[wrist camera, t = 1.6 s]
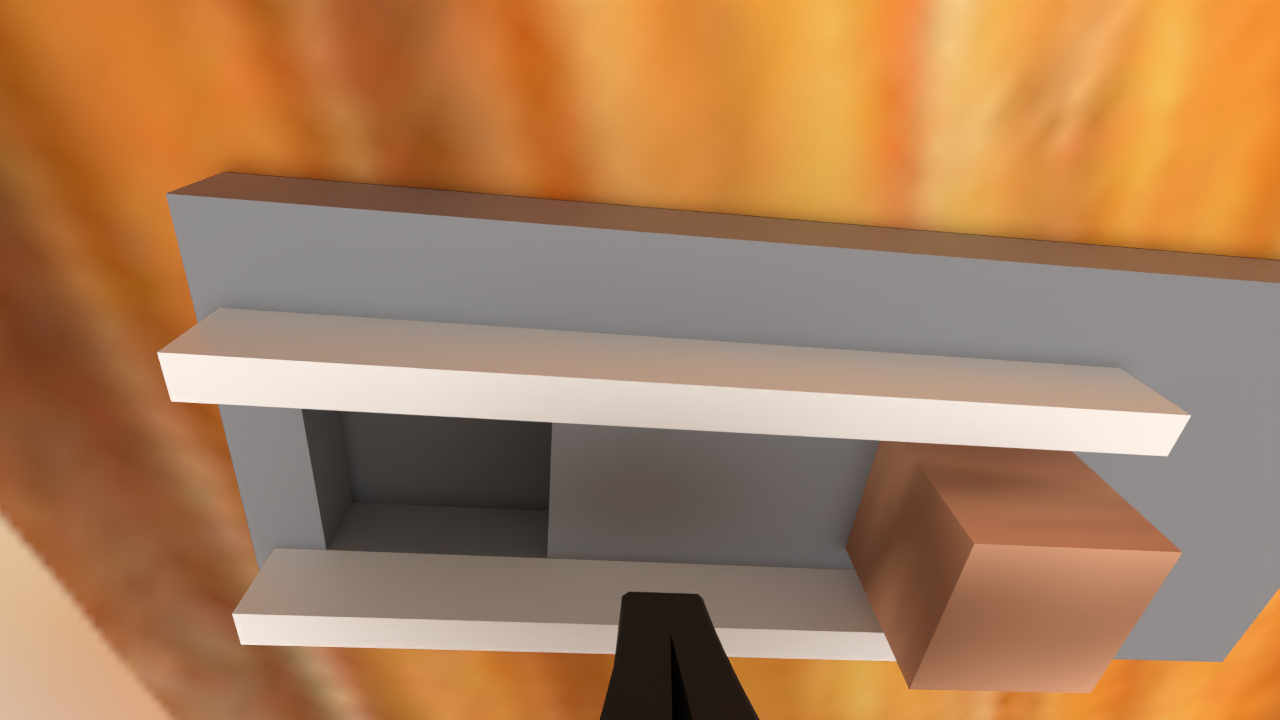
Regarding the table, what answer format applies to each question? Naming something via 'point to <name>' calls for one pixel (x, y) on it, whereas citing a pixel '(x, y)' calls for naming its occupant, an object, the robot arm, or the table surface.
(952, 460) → the block
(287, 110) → the table surface
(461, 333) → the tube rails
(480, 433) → the trap deck
